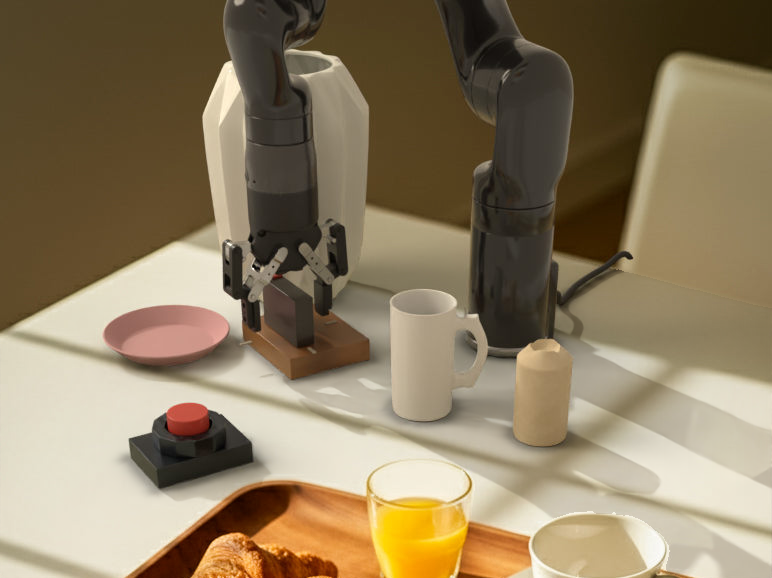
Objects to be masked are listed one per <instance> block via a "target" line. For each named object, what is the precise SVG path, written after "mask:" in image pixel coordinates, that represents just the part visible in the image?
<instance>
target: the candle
mask: <svg viewBox="0 0 772 578" xmlns="http://www.w3.org/2000/svg"><path fill="white" fill-rule="evenodd" d="M573 361H574V358H573V356H572V355H571V353H569V351H567V349H565V348H564V347H563V346H562V345H561V344H560V343H559V342H557V340H555V339H554V340H553V339H539V340H537V341H536V342H534V343H530V344H529V345H528V346H527V347H525V348H524V349H523V350H522V351H521V352H519V353H518V355H517V357H516V365H515V366H516V367H515V368H516V369H515V382H514V383H515V384H514V399H513V401H514V403H513V419H512V421H513V423H512V432H513V433H512V434H513V436H514V438H515V439H516V440H517V441H518V442H521V443H523V444H524V445H528V446H533V447H550V446H555V445H558V444H560V443H562V442H564V441H565V439H566V437H567V434H568V423H569V412H570V411H569V410H570V402H571V401H570V400H571V389H572V388H571V387H572V377H573Z"/></svg>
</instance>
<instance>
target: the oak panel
mask: <svg viewBox="0 0 772 578" xmlns="http://www.w3.org/2000/svg"><path fill="white" fill-rule="evenodd" d="M313 316H314V344H311V345H307V346H303V347H299V348H297V347H296V346H294V345H293V344H292V343H290V342H289V341H288V340H287V339H285V338H284V337H283V336H281V335H280V334H279V333H278V332H276V331H275V330H274V329H272V328H271V327H270V326H269V325H267V324H266V323H265V322H264V312H263V313H262V315H260V317H261V331H259V332H255V333H254V332H253V331H252V330H250V329H249V328H248V327H247V326H246V325H245V324H244V323H243V321H242V320H241V328H242V340H243V341H244V342H240V343H239V346H241V347H243V346H247V345H248V346H250V347H251V348H252V349H253V350H255V351H256V352H257V353H258V354H259V355H260V356H262V357H263V358H264V359H266V360H267V361H268V363H270V364H272V365H273V366H274V368H276V369H277V370H279V371H280V372H281V373H283V375H285V376H286V377H287V378H288V379H289V380H290V381H293V380H296V379H300V378H304V377H308V376H312V375H315V374H319V373H323V372H327V371H331V370H335V369H338V368H342V367H346V366H350V365H353V364H358V363H362V362H366V361H369V360H370V359H371V352H370V351H371V350H370V349H371V348H370V347H371V346H370V344H371V343H370V342H371V341H370V338H369V337H367V336H366V335H364V334H363V333H361V331H358V329H356V328H355V327H354V326H352V325H350V324H349V323H348V322H346V321H345V320H343V319H342V318H340V317H339V316H338V315H336V314H335V313H334V312H332V311H331V310H329V315H327V316H323V317H322V316H321V315H319V314H318V313H317V312H316V311H315V308H314V304H313Z"/></svg>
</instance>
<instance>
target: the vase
mask: <svg viewBox="0 0 772 578" xmlns="http://www.w3.org/2000/svg"><path fill="white" fill-rule="evenodd" d="M285 61H286V65H287V68H288V72H289V73H292V74H296V75H299V76H301V77H303V78H304V79H305V80H306V81H307V82H308V83H309V85H310V88H311V93H312V103H313V129H314V134H313V135H314V143H315V149H316V155H317V178H318V208H319V219H318V221H317V222H318V226H319V225H322V224H325V222H326V221H327V220H328V219H330V218H331V219H333V220H335V221H337V222H339V223H340V224H341V225H343V226H344V227H345V233H346V246H347V259H348V273H347V274H346V275H345V276H341V275H340V276H339V277H337V278H336V279H335V280H334V282H333V283H332V300H335V299H336V298H337V296H338V295H339V293H340V292H341V291H342V290H343V289H344V288H345V287H346V285H347V284H348V281H349V280H350V278H351V276H352V275H353V273H354V271H355V269H356V267H357V265H358V263H359V262H360V259H361V253H362V247H363V243H364V232H365V218H366V208H367V207H366V205H367V186H368V164H369V147H370V145H369V144H370V140H369V139H370V107H369V106H370V105H369V104H368V102H367V100H366V99H365V97H364V95H363V94H362V92H361V90H360V88H359V86H358V84H357V83H356V81H355V80H354V78H353V76H352V75H351V73H350V71H349V69H348V68H347V67H346V65H345V64H344V63H343V62H342V60H341V58H340V57H338V56H336V55H330V54H329V55H328V54H324V53H322V52H321V51H319V50H301V49H300V50H299V49H296V48H293V49H290V50H287V51H285ZM202 129H203V138H204V148H205V156H206V164H207V173H208V179H209V186H210V193H211V199H212V206H213V207H212V208H213V213H214V220H215V225H216V232H217V238H218V245H219V249H220V253H221V254H220V255H222V244H223V242H224V241H225V240H226V239H229V240H231V241H233V242H240V241H247V240H248V237H249V234H250V225H249V219H248V203H247V187H246V179H245V148H246V132H245V116H244V97H243V94H242V91H241V88H240V85H239V82H238V80H237V77H236V73H235V70H234V66H233V63H232V60H229V61H226V62H225V63H224V64H223V66H222V68H221V70H220V72H219V75H218V77H217V79H216V82H215V84H214V87H213V89H212V91H211V94H210V96H209V99H208V101H207V103H206V106H205V108H204V111H203V113H202ZM314 253H315V254H316V255H317V256H318V257H319V258H320V260H321V261H322V262H323V263H324V264H325V266H326V265H328V254H327V243H326V241H324V240H323V237H322V238H321V240H320V242H319V244H318V246H317V248H316V250H315V251H314ZM253 257H254V256H253V255H252V253H251V252H249V253H248V254H247V256H246V261H245V262H243V279H244V278H245V276H246V270H247V267H248V266H249V264H250V262H251V260H252V259H253ZM263 269H264V267H263V266H262V267H261V269H260V273H261V272H262V271H263ZM283 277H285V278H286V279H288V280H289V281H290V282H292V283H293V284H295V285H296V286H297V287H299V288H300V289H302V290H303V291H304V292H306V293H307V294H309V295H310V296H311V297H313V304H314V281H313V280H317V279H316V276H315V275H314V274H313V273H312V272H311V270H310V269H309V268H308V267H307V266H305V267H304V268H303V270H301V271H289V272H288V273H286V274H283ZM257 300H259V301H261V302H262V303H263V290H262V292H261V294H260V295H259V297H258V299H257Z"/></svg>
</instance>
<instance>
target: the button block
mask: <svg viewBox="0 0 772 578" xmlns="http://www.w3.org/2000/svg"><path fill="white" fill-rule="evenodd" d="M208 413H209V424H210V427H209V429H208V430H207V431H206V432H203V433H200V434H196V435H190V436H179V435H175V434H172V433H170V432H169V430H168V424H167V415H166V414H167V411H166V412H164V413H162V414H161V415H160V416H158V417H156V418H155V419H153V422H152V426H151V432H148V433H143V434H140V435H136V436H134V437H129V438H128V447H129V455H130V459H131V460H132V461H133V462H134V463H135V464H136V465H137V467H138V468H140V470H141V471H142V472H143V473H144V474H145V476H147V478H148V479H149V480H150V481H151V482H152V483H153V484H154V486H155V487H156V488H157V489H158V490H160V489H163V488H167V487H168V488H169V487H170V486H174V485H177V484H181V483H185V482H188V481H192V480H195V479H198V478H203V477H206V476H209V475H213V474H216V473H219V472H223V471H226V470H229V469H230V470H231V469H234V468H237V467H241V466H243V465H247V464H251V463H253V462H254V452H253V441H252V440H250V439H249V438H248V437H247V435H245V434H243V432H241V430H239V429H238V428H237V427H236V426H235V425H234V424H233V423H232V422H231V421H230V420H229V419H228V418H227V417H226V416H225V415H224V414H222V413H219V412H218V411H216V410H211V409H208Z"/></svg>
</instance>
